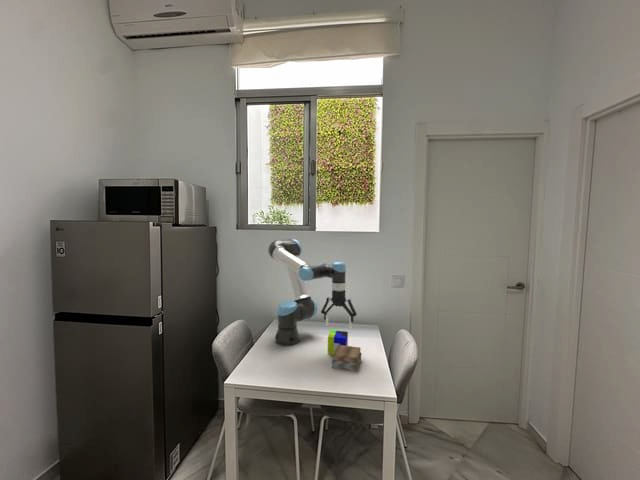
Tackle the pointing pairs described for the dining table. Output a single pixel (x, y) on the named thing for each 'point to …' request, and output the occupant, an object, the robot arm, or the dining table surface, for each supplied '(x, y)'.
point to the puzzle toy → (336, 340)
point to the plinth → (346, 365)
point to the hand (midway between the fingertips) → (338, 326)
